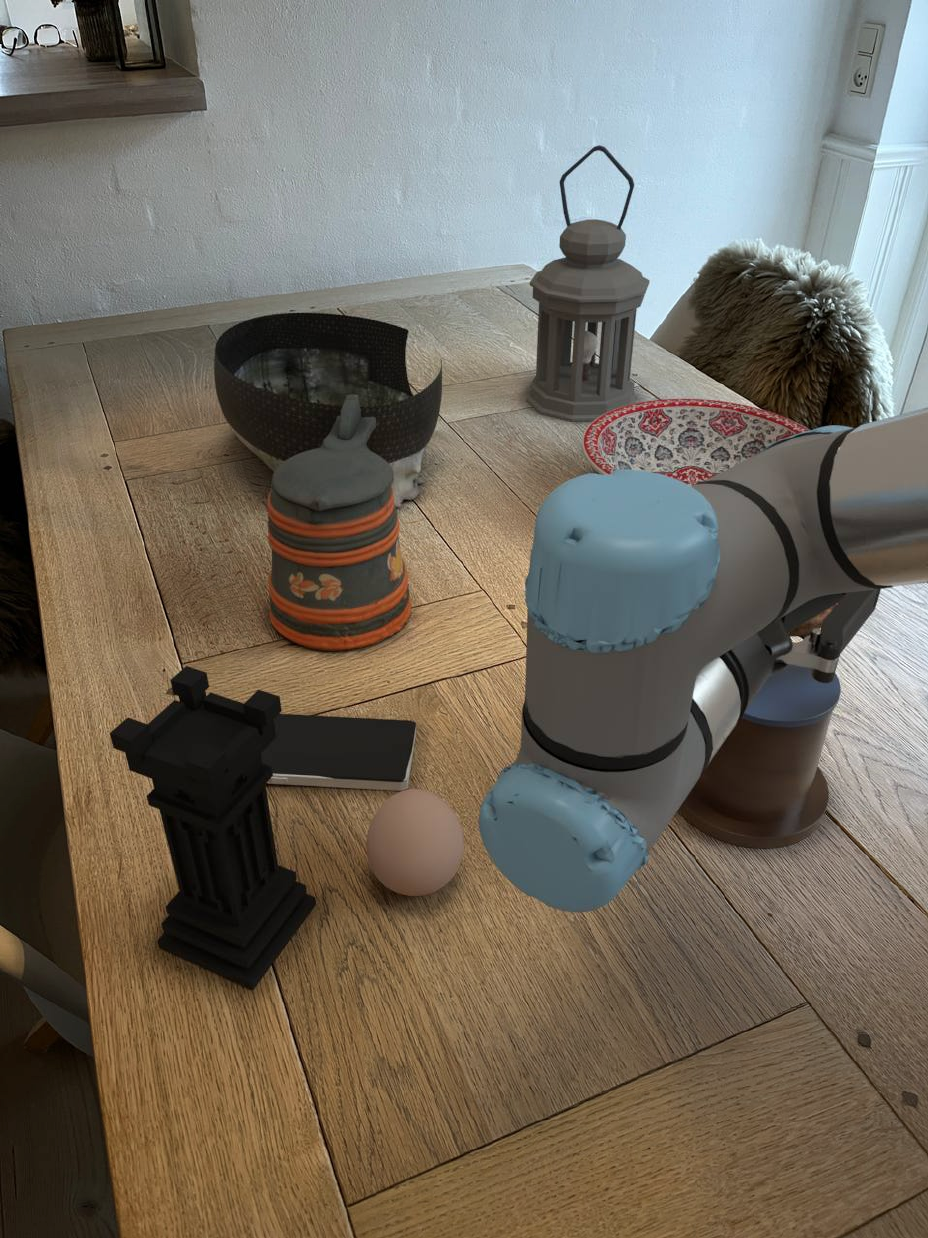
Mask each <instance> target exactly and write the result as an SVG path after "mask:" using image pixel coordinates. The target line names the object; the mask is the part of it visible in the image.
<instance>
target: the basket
mask: <svg viewBox="0 0 928 1238" xmlns="http://www.w3.org/2000/svg"><path fill="white" fill-rule="evenodd" d="M409 332H410V331H409V330H408V328H405V327H402V326H398V325H396V324H393V323H390V322H386V321H381V320H378V319H377V320H376V319H371V318H367V317H363V316H362V317H361V316H353V315H348V314H347V315H346V314H337V313H329V312H328V313H327V312H326V313H325V312H283V313H282V312H281V313H275V314H274V313H273V314H267V315H261V316H256V317H253V318H250V319H247V320H243V321H241V322H238V323H237V324H235V325H233V326H231V327H229V328H228V329H226V330H225V331H224V332H222V334H221V335H220V336H219V337H218V339H217V341H216V342H215V348H214V356H213V357H214V358H213V364H214V365H213V375H214V376H213V377H214V385H215V392H216V396H217V400H218V404H219V408H220V410H221V412H222V415H223V417H224V418H225V421H226V423H227V425H228V427H229V428H230V429H231V431H232V432H233V433H234V435H235V436H236V437H237V438H238V440H239V441H240V442H241V443H242V444H243V445H244V446H246V447H247V448H248V449H249V450H250V451H251V452H252V453H253V454H254V455H256V456H257V457H258V458H259V459H260V460H261V461H262V462H263V463H265V464H266V465H267V466H268V468H269V469H271V470H272V471H273V473H274V472H275V470H276V469H277V467H278V466H279V465H281V464H282V463H283V462H284V461H286V460H287V459H289V458H291V457H293V456H295V455H297V454H300V453H302V452H305V451H309V450H312V449H317V448H320V447H321V446H322V443H323V440H324V439H325V438H326V437H327V436H328V435H329V433H330V432H331V430H332V428H333V426H334V424H335V422H336V419H337V416H340V415H341V410H342V406H343V404H344V401H345V398H346V396H347V395H353V394H354V395H357V396H358V398H359V405H360V412H361V417H362V418H364V417H375V418H376V428H375V429H374V430H373V431H372V433H371V435H370V437H369V439H368V441H367V443H366V444H367V448H368V449H369V450H370V451H372V452H373V453H375V454H377V455H379V456H380V457H382V458H383V459H384V460H385V461H387V462H388V463H389V464H390V466H391V467H392V470H393V474H394V476H393V478H394V481H393V484H392V488H393V495H394V499H395V506H396V509H398V508H400V507H402V504H401V503H403V501H404V500H408V501H410V500H415V499H416V498H417V497H418V496H419V494H420V491H421V490H420V487H419V484H422V485H423V484H424V483H425V482H426V480H425V478H424V477H422V476H420V475H419V474H420V473H421V469H422V466H421V463H422V458H423V457H424V454H425V451H426V449H427V447H428V445H429V443H430V441H431V439H432V437H433V434H434V432H435V430H436V427H437V424H438V420H439V416H440V413H441V412H440V411H441V406H442V405H441V404H442V398H443V397H442V396H443V395H442V394H443V363H442V360H440V369H439V372H438V373H437V375H436V377H435V378H434V379H433V380H432V381H431V383H429V385H427V386H426V387H425V388H423V390H421V391H418V393H415V394H414V393H413V391H412V389H411V386H410V383H409V382H410V381H409V378H408V371H407V360H406V358H407V357H406V355H407V354H406V353H407V350H406V349H407V341H408V338H409Z"/></svg>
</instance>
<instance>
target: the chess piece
mask: <svg viewBox="0 0 928 1238" xmlns="http://www.w3.org/2000/svg"><path fill="white" fill-rule="evenodd" d="M170 684H171V689H172V693H173V695H174V696H176V697H178V700H176V699H173V701H171V702H170V703H169V704H168V705H167V706H166V707H165V708H164V709H162V711H160V712H159V713H158V714H157V715H156V716H154V718H153V719H152V720H151V721H149V722H148V723H145V722H142V721H140V720H137V719H133V718H130V717H126V718H125V719H124V720H122V721H121V722H120V723H119V724H118V725H117V726H116V727H115V728H113V729H112V730H111V731H110V732H109V737H110V740H111V744H112V747H113V749H115V750H116V751H120V752H123V753H124V755H125V758H126V761H127V766H128V770H129V771H131V772H133V773H135V774H137V775H141V776H143V777H146V778H149V779H151V781H152V786H153V789H152V790H151V791H150V792H149V793H148V794H147V795H146V801H147V804H148V806H149V807H152V808H155V809H157V810H159V814H160V818H161V822H162V826H163V830H164V834H165V837H166V838H165V839H166V842H167V847H168V850H169V854H170V858H171V863H172V867H173V870H174V873H175V874H174V875H175V879H176V883H177V886H178V887H177V888H178V891H177V892H176V894H175V895H174V896H173V897H172V898H171V900H170V901H169V902H168V903H167V904H166V905H165V910H166V914H167V916H166V918H165V919H164V920H163V921H162V922H161V924H160V925H161V928H162V932H163V933H162V934H161V935H160V936H159V938H157V940H156V944H157V946H158V949H160V950H162V951H165V952H167V953H169V954H172V955H173V956H175V957H178V958H179V959H182V960H184V961H187V962H189V963H191V964H193V965H195V966H198V967H200V968H202V969H204V970H207V971H208V972H210V973H213V974H215V975H217V976H220V977H222V978H224V979H226V980H229V981H230V982H233V983H236V984H237V985H238V986H242V987H244V988H246V989H249V990H250V991H254V989H255V988H256V987H257V985H258V984H259V983H260V981H261V980H262V978H264V976H265V975H266V973H267V972H268V971H269V969H270V968H271V967H272V965H274V963H275V961H276V960H277V958H278V957H279V956H280V955H281V953H282V951H283V950H284V949H285V948H286V946H287V945H288V943H289V942H290V941H291V940H292V938H293V937H294V935H295V934H296V933H297V931H298V930H299V929H300V927H301V926H302V925H303V923H304V922H305V920H306V919H307V918H308V916H309V915H310V914H311V912H312V911H313V910H314V908H315V907H316V906H317V899H316V897H315V896H313V895H311V894H308V893H307V885H306V884H304V883H302V882H299V881H298V878H297V872H296V871H294V870H292V869H289V868H287V867H284V866H282V865H279V861H278V855H277V850H276V849H277V848H276V843H275V836H274V831H273V830H274V829H273V824H272V823H273V822H272V816H271V810H270V805H269V798H268V793H267V786H266V785H267V784H268V783H267V782H268V781H269V780H270V779H271V777H272V776H273V773H272V767H271V766H268V765H265V764H262V760H261V753H262V752H263V751H264V750H265V749H266V748H267V747H268V745H269V744H270V743H271V742H272V741H273V740H274V739H275V738H276V732H275V725H274V719H275V718H276V717H277V716H278V715H279V714H282V711H283V709H282V703H281V696H279V695H277V694H273V693H270V692H268V691H264V690H262V689H257V690H256V691H255V692H254V693H253V694H252V695H251V696H250V697H249V698H248V699H247V700H246V701H245V702H244V703H243V702H240V701H238V700H234V699H231V698H229V697H225V696H223V695H220V694H217V693H214V692H212V691H211V692H209V693H208V694H207V690H208V689H209V688H210V684H209V679H208V673H207V671H203V670H200V669H197V668H194V667H191V666H188V665H186V666H185V667H184V668H182V669H181V670H179V672H177V674H175V675H174V676H173V677H172V678H171V679H170Z"/></svg>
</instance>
